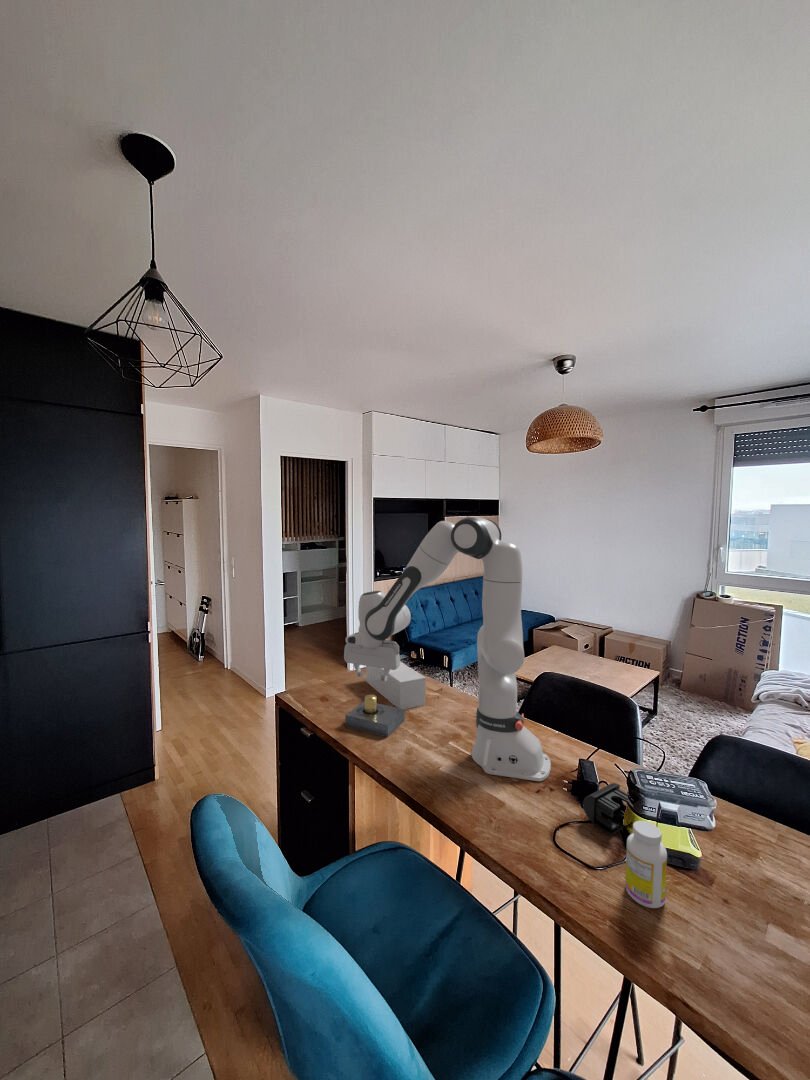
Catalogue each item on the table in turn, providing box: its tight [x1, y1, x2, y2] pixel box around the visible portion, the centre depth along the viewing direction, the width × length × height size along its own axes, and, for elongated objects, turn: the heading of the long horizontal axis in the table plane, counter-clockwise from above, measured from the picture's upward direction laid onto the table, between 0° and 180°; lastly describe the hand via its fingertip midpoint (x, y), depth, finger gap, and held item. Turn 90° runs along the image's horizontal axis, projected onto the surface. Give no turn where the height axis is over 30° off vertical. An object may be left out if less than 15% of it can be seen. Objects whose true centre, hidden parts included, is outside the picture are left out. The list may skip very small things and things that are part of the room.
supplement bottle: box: [625, 820, 668, 909], centre depth 82 cm, size 7×7×13 cm
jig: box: [344, 700, 406, 738], centre depth 149 cm, size 16×13×4 cm
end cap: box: [582, 782, 629, 836], centre depth 103 cm, size 10×7×7 cm
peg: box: [364, 694, 378, 715], centre depth 149 cm, size 4×4×8 cm
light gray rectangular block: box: [365, 661, 427, 710], centre depth 176 cm, size 32×11×11 cm, turn 28°
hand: (371, 678), depth 149 cm, fingers open, 8 cm apart
